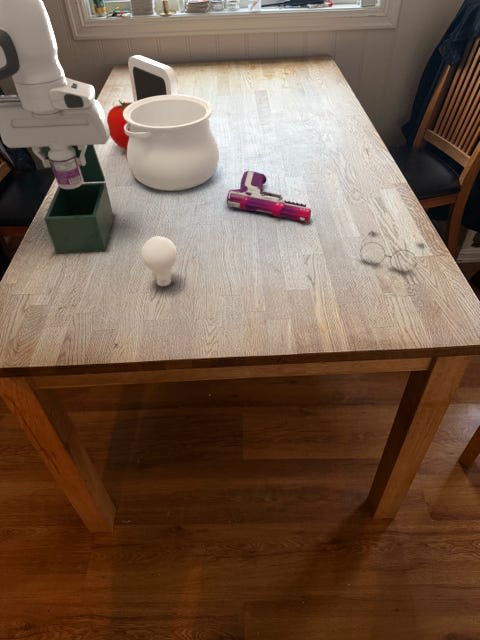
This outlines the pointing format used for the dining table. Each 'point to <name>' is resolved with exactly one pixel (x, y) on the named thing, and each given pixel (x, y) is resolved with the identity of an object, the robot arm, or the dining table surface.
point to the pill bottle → (65, 166)
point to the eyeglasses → (386, 255)
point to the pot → (171, 141)
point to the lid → (87, 164)
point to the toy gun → (264, 199)
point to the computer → (151, 78)
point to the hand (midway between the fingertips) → (65, 165)
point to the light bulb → (160, 258)
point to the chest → (80, 218)
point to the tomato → (118, 125)
